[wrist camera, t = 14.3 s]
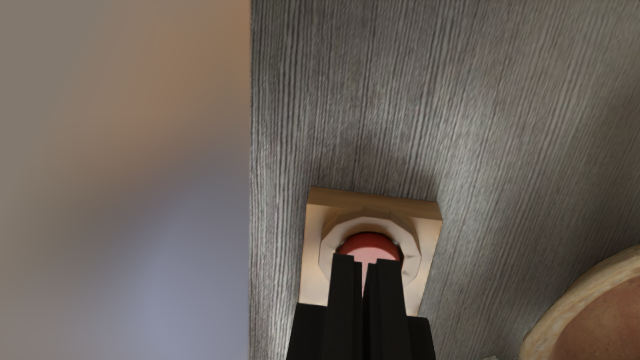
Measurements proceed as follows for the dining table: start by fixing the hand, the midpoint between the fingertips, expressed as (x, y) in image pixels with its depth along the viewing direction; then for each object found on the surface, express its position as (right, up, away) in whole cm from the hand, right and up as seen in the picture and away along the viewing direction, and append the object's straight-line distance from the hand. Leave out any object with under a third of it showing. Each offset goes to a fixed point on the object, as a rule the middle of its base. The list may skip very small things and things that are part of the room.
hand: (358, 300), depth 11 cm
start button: (+3, -2, +19) cm, 20 cm away
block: (+3, -5, +25) cm, 26 cm away
